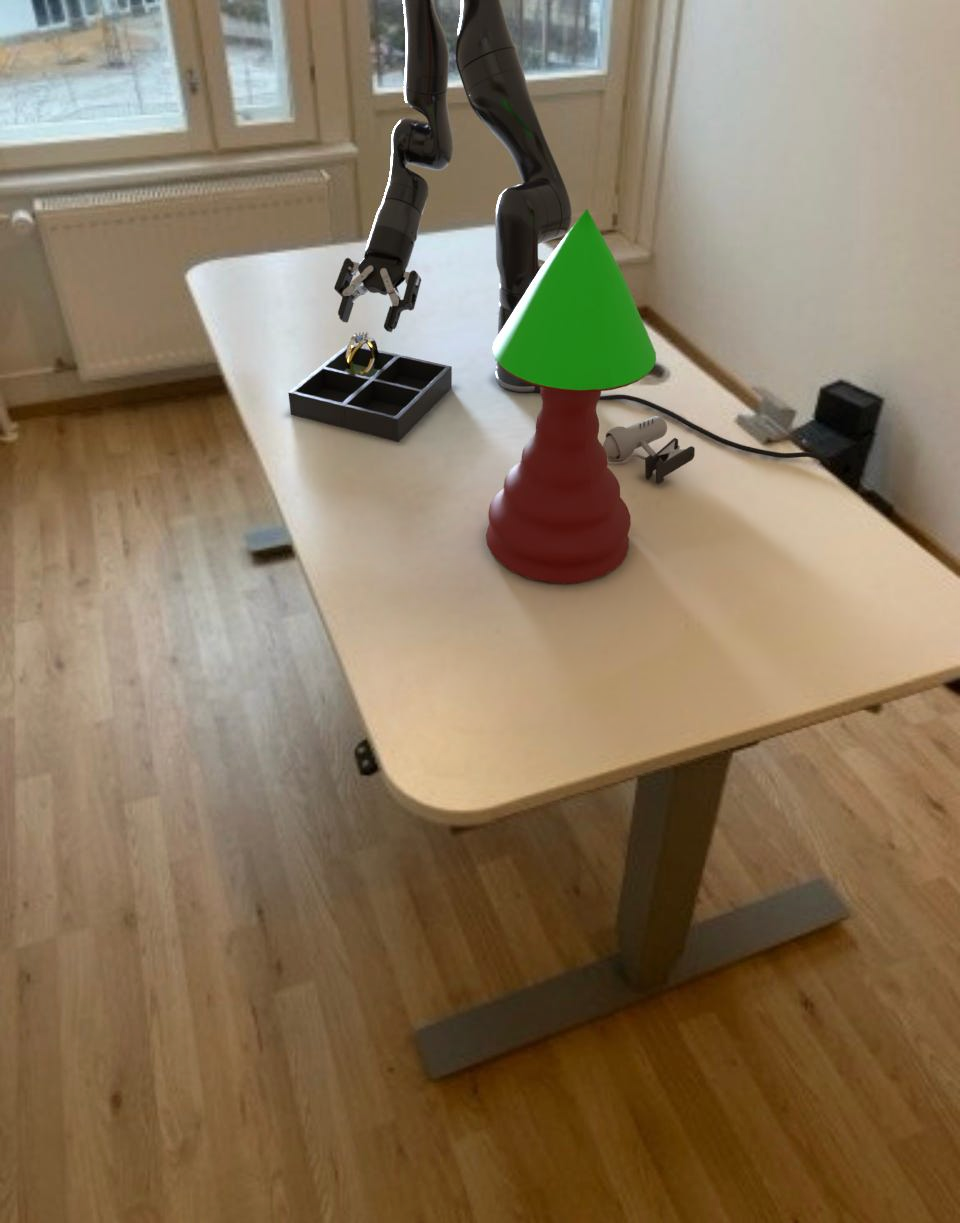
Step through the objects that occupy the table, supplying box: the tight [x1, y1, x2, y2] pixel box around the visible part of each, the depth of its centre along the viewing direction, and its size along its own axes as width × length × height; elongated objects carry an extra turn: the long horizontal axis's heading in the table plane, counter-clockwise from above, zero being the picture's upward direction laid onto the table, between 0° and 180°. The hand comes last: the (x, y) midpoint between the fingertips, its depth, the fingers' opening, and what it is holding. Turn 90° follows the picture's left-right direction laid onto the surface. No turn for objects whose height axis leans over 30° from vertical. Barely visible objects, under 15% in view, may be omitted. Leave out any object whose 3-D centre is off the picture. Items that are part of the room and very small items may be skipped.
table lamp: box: [485, 208, 657, 584], centre depth 120 cm, size 20×20×45 cm
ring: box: [346, 331, 379, 376], centre depth 166 cm, size 7×3×8 cm, turn 139°
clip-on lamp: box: [602, 415, 696, 485], centre depth 147 cm, size 12×6×18 cm
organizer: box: [287, 344, 453, 443], centre depth 162 cm, size 20×20×4 cm
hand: (365, 325), depth 163 cm, fingers open, 8 cm apart
